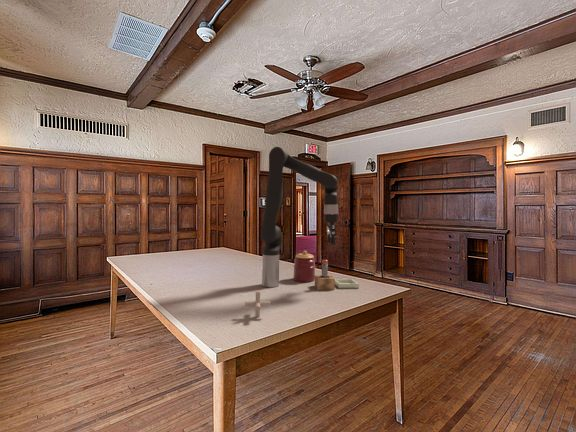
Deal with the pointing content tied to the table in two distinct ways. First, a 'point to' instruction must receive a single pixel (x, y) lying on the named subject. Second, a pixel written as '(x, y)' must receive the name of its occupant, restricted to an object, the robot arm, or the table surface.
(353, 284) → the tray
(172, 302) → the table surface
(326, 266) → the steel pin
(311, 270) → the canister
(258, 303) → the pipe connector
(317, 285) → the block
